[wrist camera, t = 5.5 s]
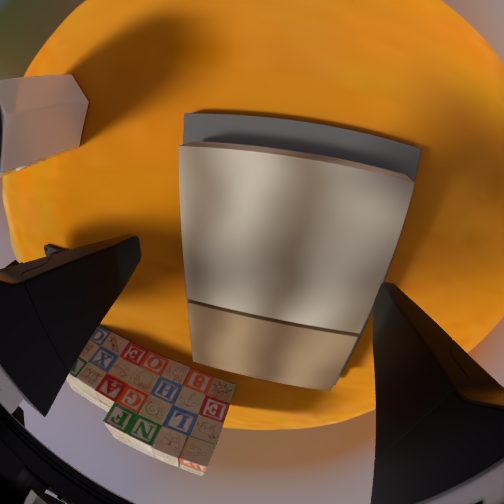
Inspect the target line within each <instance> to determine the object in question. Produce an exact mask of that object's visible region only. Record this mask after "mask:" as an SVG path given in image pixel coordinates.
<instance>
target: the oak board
mask: <svg viewBox="0 0 504 504" xmlns="http://www.w3.org/2000/svg"><path fill="white" fill-rule="evenodd" d="M187 306H188V317H189V328H190V338H191V347H192V356H193V362H196V363H200V364H203V365H207V366H210V367H214V368H217V369H221V370H225V371H229V372H233V373H237V374H241V375H245V376H249V377H253V378H258V379H263V380H267V381H272V382H277V383H282V384H288V385H293V386H299V387H305V388H312V389H318V390H326V391H330V390H331V389H332V387H333V385H334V383H335V381H336V380H337V378H338V376H339V374H340V372H341V370H342V368H343V367H344V365H345V363H346V361H347V359H348V357H349V355H350V353H351V351H352V349H353V347H354V345H355V342H356V340H357V338H358V333H353V332H346V331H340V330H334V329H328V328H322V327H316V326H310V325H305V324H299V323H294V322H289V321H284V320H279V319H274V318H269V317H264V316H259V315H254V314H250V313H245V312H241V311H236V310H232V309H227V308H223V307H219V306H215V305H210V304H206V303H202V302H198V301H194V300H190V299H189V300H188V302H187Z"/></svg>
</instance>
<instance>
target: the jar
mask: <svg viewBox="0 0 504 504" xmlns="http://www.w3.org/2000/svg"><path fill="white" fill-rule="evenodd" d="M88 104H89V101H88V100H87V98H86V97H85V95H84V93H83V92H82V90H81V89H80V87H79V85H78V84H77V82H76V80H75V79H74V77H73V75H71V74H63V75H43V76H31V77H22V78H14V79H7V80H1V81H0V177H3V176H5V175H8V174H10V173H12V172H15V171H20V170H22V169H25V168H27V167H30V166H32V165H35V164H38V163H39V162H42V161H45V160H47V159H50V158H53V157H55V156H58V155H60V154H63V153H65V152H67V151H70V150H72V149H75V148H78V147H79V146H80V141H81V136H82V131H83V126H84V121H85V117H86V113H87V108H88Z"/></svg>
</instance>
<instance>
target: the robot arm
mask: <svg viewBox="0 0 504 504" xmlns="http://www.w3.org/2000/svg"><path fill="white" fill-rule="evenodd" d="M44 250H45V254H46V257H43V258H40V259H37V260H33V261H29V262H26V263H22V262H21V263H20V264H19V263H18V262H17V261H16V260H15V261H14V262H12V263H11V264H9V265H8V266H6V267H5V268H3V269H0V504H65V503H67V504H135V503H133V502H131V501H129V500H127V499H125V498H123V497H121V496H120V495H118V494H116V493H114V492H112V491H110V490H108V489H107V488H105V487H103V486H102V485H100V484H98V483H97V482H95V481H94V480H92V479H90V478H89V477H87V476H86V475H84V474H83V473H81V472H80V471H78V470H77V469H75V468H74V467H72V466H71V465H70V464H68V463H67V462H65V461H64V460H63V459H61V458H60V457H59V456H58V455H56V454H55V453H54V452H52V451H51V450H50V449H49V448H47V447H46V446H45V445H44V444H43V443H41V442H40V441H39V440H38V439H37V438H36V437H35V436H33V435H32V434H31V433H30V432H29V431H28V430H27V429H26V428H25V424H24V412H23V410H22V409H21V408H20V407H19V404H20V403H21V402H22V400H23V399H24V400H26V402H28V403H29V404H30V405H31V406H32V407H33V408H34V409H36V410H37V411H38V412H39V413H40V414H41V415H43V416H44V417H45V416H46V415H47V413H48V412H49V410H50V408H51V405H52V404H53V402H54V400H55V398H56V396H57V394H58V393H59V391H60V389H61V387H62V385H63V384H64V382H65V380H66V378H67V376H68V375H69V372H70V371H71V369H72V368H73V366H74V364H75V362H76V361H77V359H78V357H79V356H80V354H81V353H82V351H83V349H84V348H85V346H86V344H87V343H88V341H89V340H90V338H91V337H92V335H93V333H94V332H95V330H96V329H97V327H98V326H99V324H100V323H101V321H102V320H103V318H104V317H105V315H106V314H107V312H108V311H109V309H110V308H111V306H112V305H113V303H114V302H115V301H116V299H117V298H118V296H119V295H120V293H121V292H122V290H123V289H124V287H125V286H126V284H127V282H128V280H129V279H130V277H131V275H132V274H133V272H134V270H135V268H136V267H137V265H138V263H139V262H140V259H141V249H140V241H139V238H138V236H136V235H131V234H127V235H123V236H119V237H116V238H112V239H108V240H104V241H100V242H96V243H93V244H89V245H85V246H82V247H78V248H75V249H71V250H68V251H66V250H63V249H60V248H56V247H53V246H50V245H45V246H44ZM373 356H374V370H375V391H376V446H375V458H376V459H375V463H374V477H373V487H372V496H371V504H504V387H502V386H501V385H500V384H499V383H498V382H497V381H496V380H495V379H494V378H492V377H491V376H490V375H489V374H488V373H487V372H486V371H485V370H484V369H483V368H482V367H481V366H480V365H479V364H478V363H476V361H474V360H473V359H472V358H471V357H470V356H469V355H468V354H467V353H466V352H465V351H464V350H463V349H462V348H461V347H460V346H459V345H458V344H457V343H456V342H455V341H454V340H452V338H451V337H450V336H449V335H448V334H447V333H446V332H445V331H444V330H443V329H442V328H441V327H440V326H439V325H438V324H437V323H436V322H435V321H434V320H433V319H432V318H430V317H429V316H428V315H427V314H426V313H425V312H424V311H423V310H422V309H421V308H420V307H419V306H418V305H417V304H416V303H414V302H413V301H412V300H411V299H410V298H409V297H408V296H407V295H406V294H404V293H403V292H402V291H401V290H400V289H399V288H398V287H397V286H396V285H394V284H393V283H388V282H383V283H382V284H381V285H380V288H379V290H378V293H377V295H376V298H375V300H374V304H373ZM46 489H47V490H48V491H50V492H52V493H54V494H55V495H57V496H58V497H57V498H58V499H59V500H58V499H56V498H54V497H52V496H51V495H48V494H46V493H45V491H46ZM60 500H61V501H60ZM62 501H63V502H62ZM64 502H65V503H64Z"/></svg>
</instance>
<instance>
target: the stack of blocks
mask: <svg viewBox="0 0 504 504" xmlns="http://www.w3.org/2000/svg"><path fill="white" fill-rule="evenodd" d="M66 379H67V381H68V382H69V384H70V386H71V388H72V389H73V390H74V391H76V392H77V393H79V394H80V395H82V396H84V397H85V398H87V399H88V400H89V401H91V402H92V403H94V404H95V405H97V406H99V407H100V408H102V409H104V410H106V411H107V412H108V414H107V415H106V417H105V419H104V420H103V422H104V424H105V425H106V426H107V428H108V429H109V430H110V431H111V433H112V435H113V436H114V437H115V438H116V439H118V440H120V441H122V442H123V443H125V444H127V445H129V446H131V447H133V448H135V449H137V450H139V451H141V452H143V453H145V454H147V455H150V456H152V457H154V458H157V459H159V460H162V461H164V462H166V463H169V464H171V465H174V466H176V467H180V468H182V469H184V470H187V471H189V472H193V473H195V474H198V475H201V476H203V475H204V473H205V471H206V469H207V467H208V464H209V462H210V459H211V456H212V454H213V451H214V449H215V446H216V444H217V441H218V438H219V435H220V432H221V430H222V426H223V423H224V420H225V418H226V415H227V412H228V408H229V405H230V402H231V399H232V397H233V394H234V391H235V388H236V385H235V384H233V383H230V382H227V381H224V380H221V379H218V378H216V377H213V376H211V375H208V374H206V373H203V372H200V371H198V370H195V369H193V368H190V367H188V366H185V365H183V364H181V363H178V362H176V361H173V360H171V359H167V358H165V357H163V356H160V355H158V354H156V353H154V352H152V351H149V350H147V349H145V348H143V347H141V346H138V345H136V344H134V343H132V342H130V341H128V340H126V339H124V338H122V337H120V336H119V335H117V334H115V333H113V332H111V331H109V330H107V329H106V328H104V327H102V326H100V325H99V326H98V327H97V329H96V330H95V332H94V333H93V335H92V337H91V338H90V340H89V341H88V343H87V344H86V346H85V348H84V349H83V351H82V353H81V354H80V356H79V357H78V359H77V361H76V362H75V364H74V366H73V368H72V369H71V371H70V372H69V375H68V376H67V378H66Z"/></svg>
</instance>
